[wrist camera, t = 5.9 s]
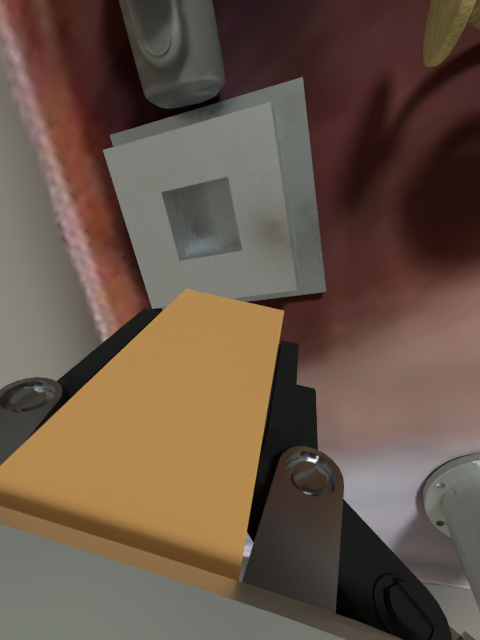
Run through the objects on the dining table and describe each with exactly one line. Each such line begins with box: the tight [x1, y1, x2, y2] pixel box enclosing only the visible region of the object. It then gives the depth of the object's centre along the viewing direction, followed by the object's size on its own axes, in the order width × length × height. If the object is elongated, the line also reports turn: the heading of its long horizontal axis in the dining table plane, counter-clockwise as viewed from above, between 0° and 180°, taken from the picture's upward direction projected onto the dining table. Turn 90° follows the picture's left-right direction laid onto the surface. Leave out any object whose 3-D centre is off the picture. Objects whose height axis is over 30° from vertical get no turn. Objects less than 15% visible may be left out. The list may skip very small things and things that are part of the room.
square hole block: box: [103, 77, 326, 311], centre depth 26 cm, size 16×16×6 cm
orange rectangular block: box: [0, 289, 284, 581], centre depth 8 cm, size 4×4×10 cm
